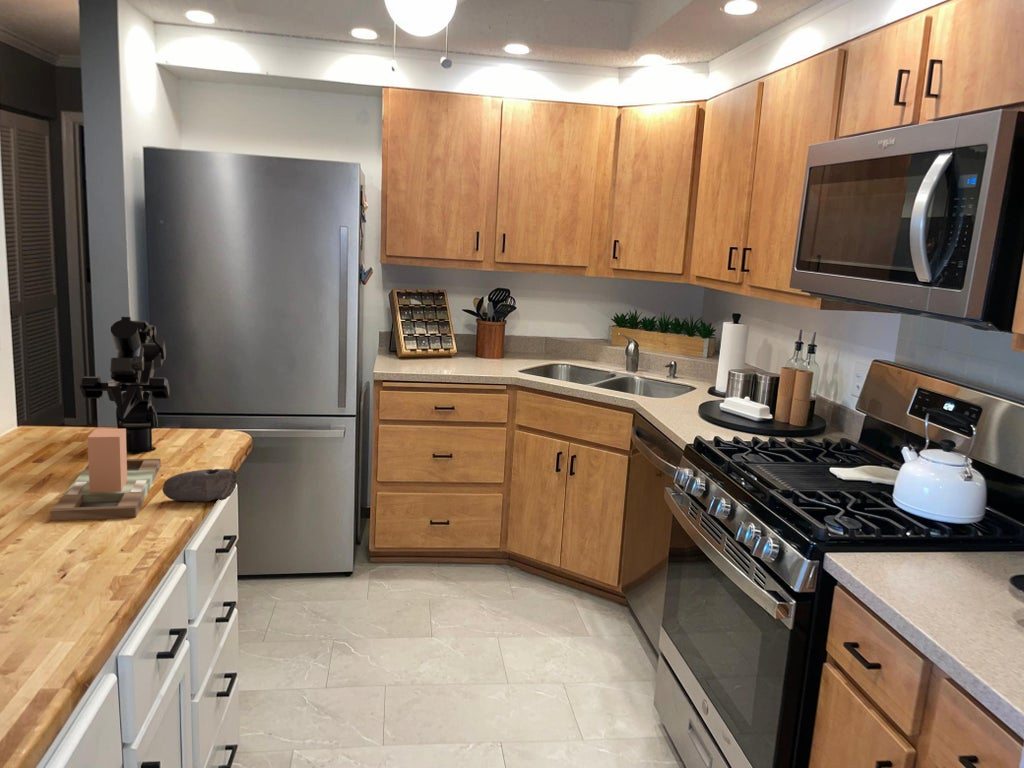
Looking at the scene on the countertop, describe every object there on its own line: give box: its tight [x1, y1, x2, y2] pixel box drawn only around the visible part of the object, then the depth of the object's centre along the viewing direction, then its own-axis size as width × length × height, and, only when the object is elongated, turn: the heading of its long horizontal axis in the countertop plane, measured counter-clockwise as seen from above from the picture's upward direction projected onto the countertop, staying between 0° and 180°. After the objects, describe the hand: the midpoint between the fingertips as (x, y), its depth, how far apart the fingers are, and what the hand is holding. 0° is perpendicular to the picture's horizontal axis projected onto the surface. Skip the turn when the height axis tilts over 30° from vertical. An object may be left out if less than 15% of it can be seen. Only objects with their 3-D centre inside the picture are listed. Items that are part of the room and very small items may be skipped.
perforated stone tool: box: [161, 468, 238, 503], centre depth 164 cm, size 15×5×7 cm, turn 104°
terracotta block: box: [87, 428, 128, 492], centre depth 162 cm, size 7×6×12 cm
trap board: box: [50, 458, 162, 522], centre depth 166 cm, size 35×15×2 cm, turn 17°
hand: (121, 417), depth 176 cm, fingers closed
